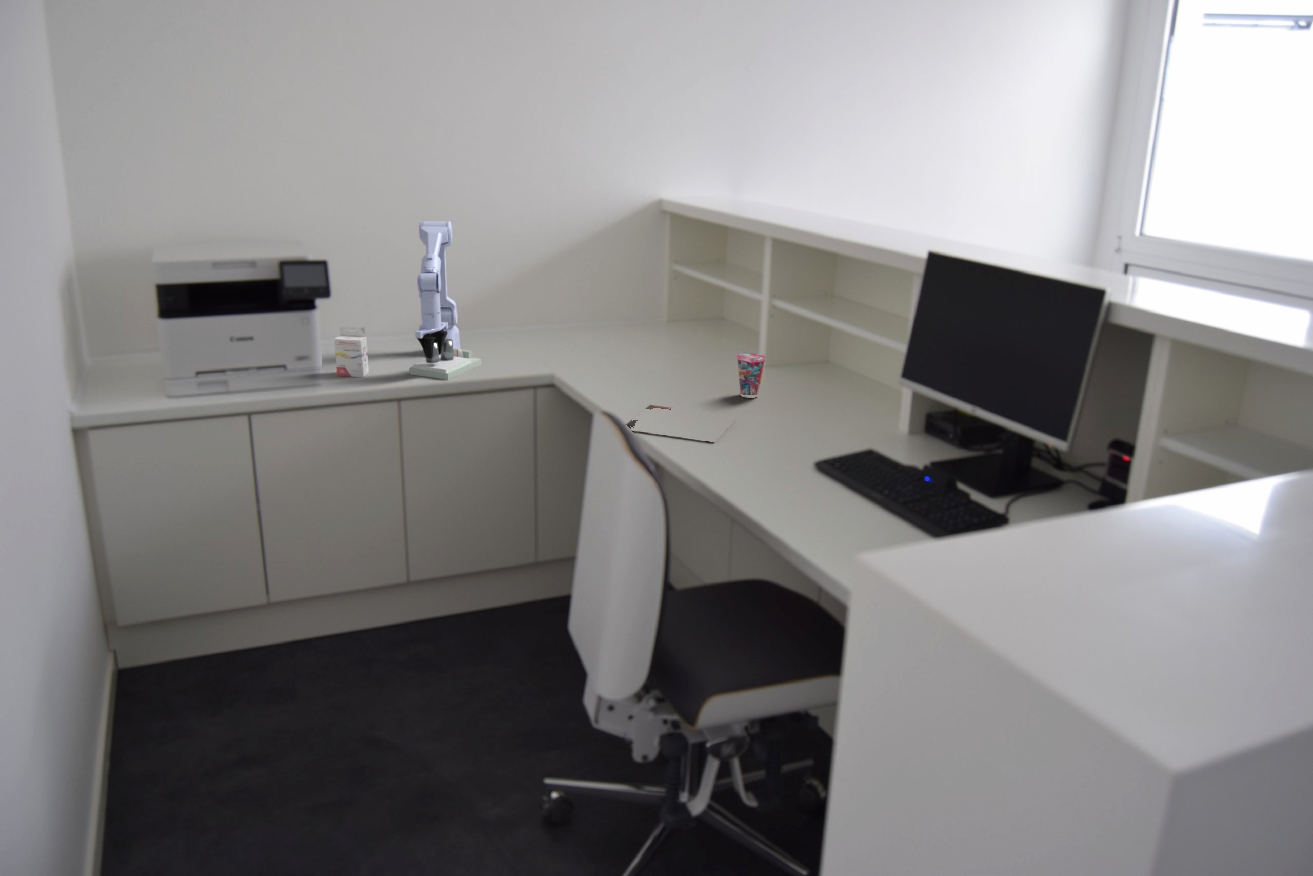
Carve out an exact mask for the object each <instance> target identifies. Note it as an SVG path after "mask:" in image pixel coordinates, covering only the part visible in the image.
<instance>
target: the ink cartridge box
mask: <svg viewBox="0 0 1313 876" xmlns="http://www.w3.org/2000/svg"><path fill="white" fill-rule="evenodd" d="M352 330H353V331H352ZM339 333H340V335H338V336H337V337H335V338H334V351H335V353H334V354H335V355H334V356H335V365H336V376H337V377H338V376H339V377H354V378H364V377H365V376H367V375H368V374H369V373H370V372H369V371H370V368H369V356H368V340H367V335H366V328H365V327H364V326H353V325H352V326H351V325H340V326H339Z"/></svg>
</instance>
